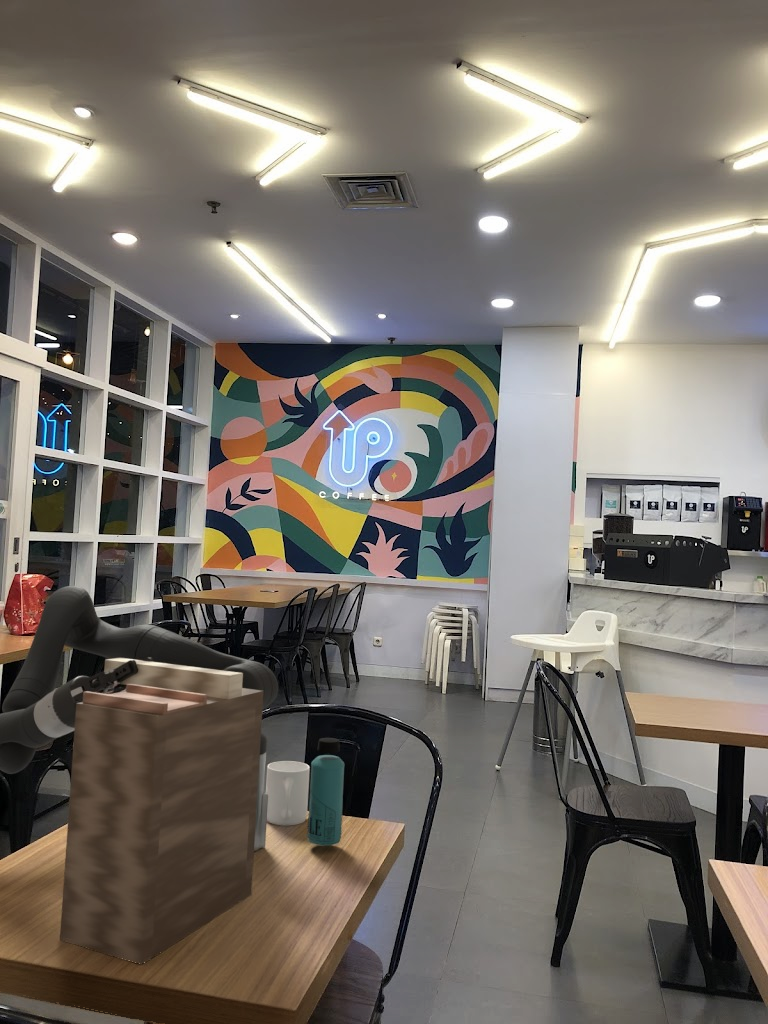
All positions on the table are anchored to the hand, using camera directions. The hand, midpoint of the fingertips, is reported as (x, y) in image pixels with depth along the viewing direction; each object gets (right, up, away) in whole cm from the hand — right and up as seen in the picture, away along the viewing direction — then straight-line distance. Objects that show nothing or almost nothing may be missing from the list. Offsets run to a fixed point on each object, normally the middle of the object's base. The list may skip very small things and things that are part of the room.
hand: (143, 664), depth 134 cm
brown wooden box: (+6, -35, -11) cm, 37 cm away
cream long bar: (+5, -3, -2) cm, 6 cm away
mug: (+19, -38, +34) cm, 55 cm away
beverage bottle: (+27, -38, +21) cm, 51 cm away
